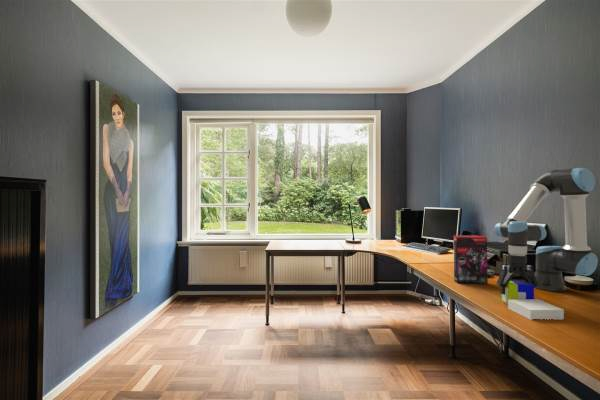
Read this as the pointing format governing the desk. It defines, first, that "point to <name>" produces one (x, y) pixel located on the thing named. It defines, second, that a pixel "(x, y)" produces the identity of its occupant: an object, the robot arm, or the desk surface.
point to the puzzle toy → (519, 290)
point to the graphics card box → (470, 259)
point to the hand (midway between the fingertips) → (517, 301)
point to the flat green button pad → (490, 272)
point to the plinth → (535, 309)
